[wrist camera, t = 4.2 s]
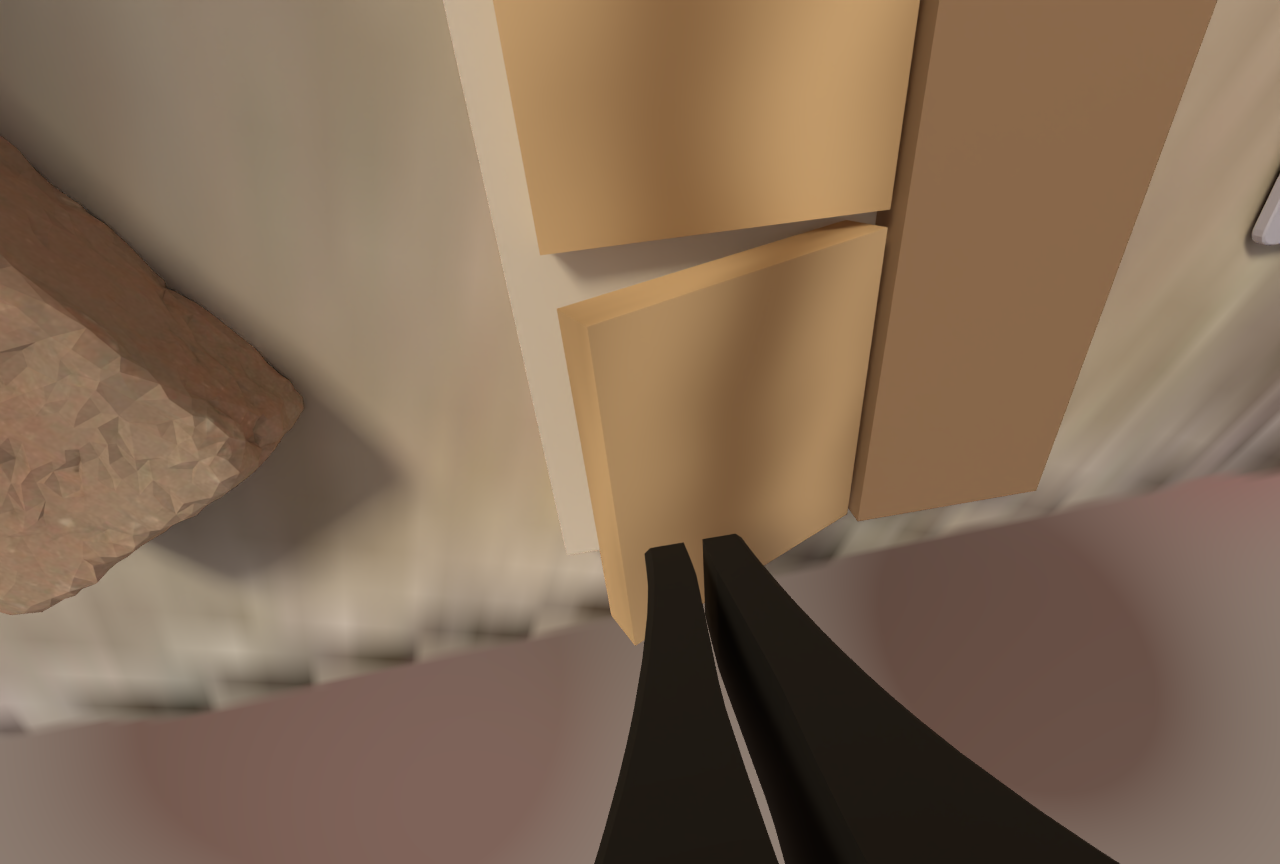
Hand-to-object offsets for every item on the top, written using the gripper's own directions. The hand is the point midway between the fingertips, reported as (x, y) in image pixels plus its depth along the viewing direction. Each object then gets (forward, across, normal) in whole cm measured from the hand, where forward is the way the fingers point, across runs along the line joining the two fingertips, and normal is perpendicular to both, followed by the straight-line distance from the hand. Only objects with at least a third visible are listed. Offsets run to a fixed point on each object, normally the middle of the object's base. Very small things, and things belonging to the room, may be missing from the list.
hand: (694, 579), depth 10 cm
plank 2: (+5, -2, 0) cm, 5 cm away
